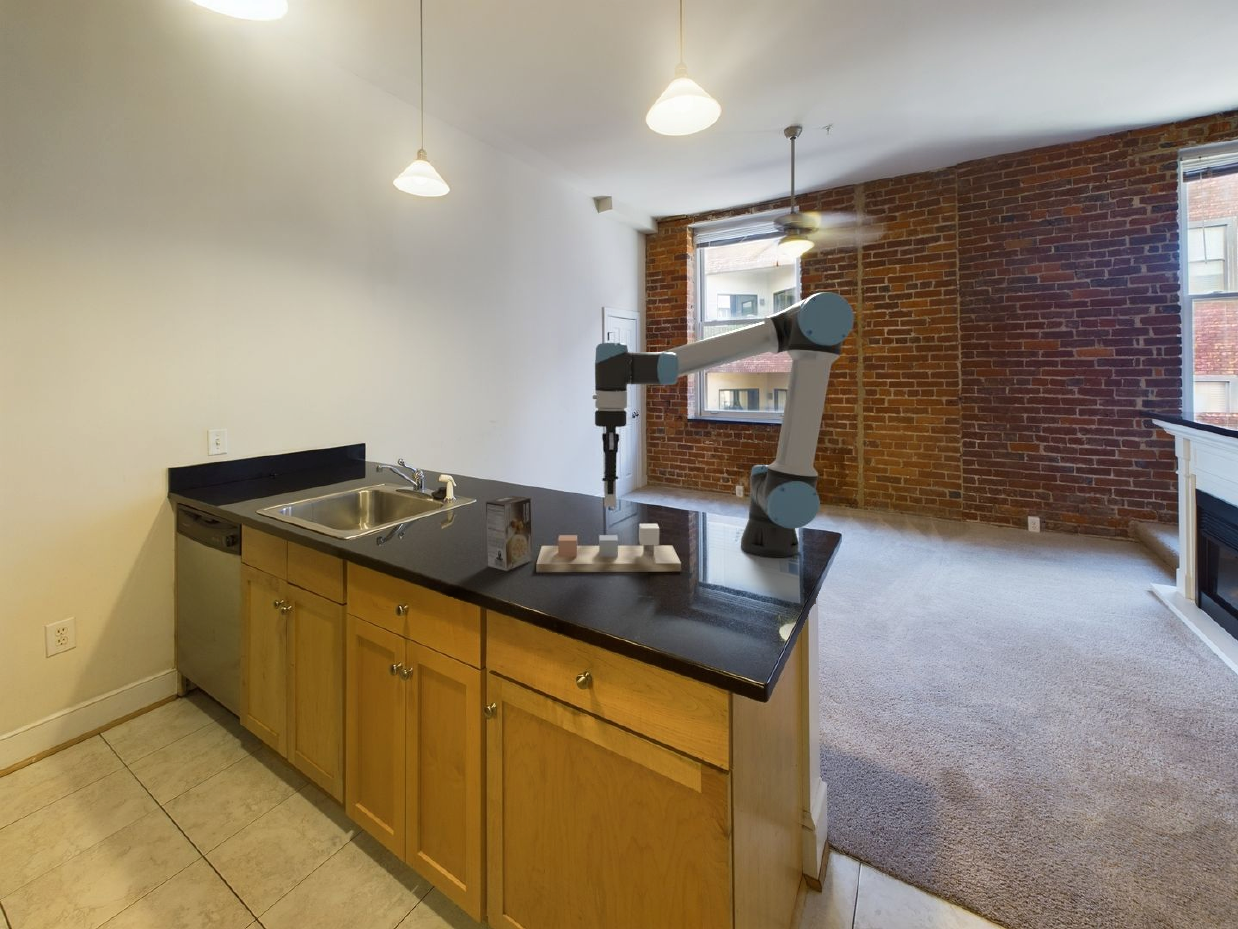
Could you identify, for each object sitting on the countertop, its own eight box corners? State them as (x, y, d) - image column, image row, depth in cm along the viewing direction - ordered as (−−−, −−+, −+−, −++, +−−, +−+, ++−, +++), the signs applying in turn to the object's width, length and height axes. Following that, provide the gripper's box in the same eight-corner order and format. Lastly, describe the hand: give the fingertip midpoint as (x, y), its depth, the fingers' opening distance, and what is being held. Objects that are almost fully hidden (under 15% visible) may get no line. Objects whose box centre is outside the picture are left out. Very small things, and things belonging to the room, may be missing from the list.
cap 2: (656, 539, 135) (657, 523, 134) (658, 545, 130) (659, 528, 130) (638, 539, 134) (639, 523, 134) (640, 545, 130) (640, 528, 129)
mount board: (672, 552, 140) (672, 534, 140) (680, 571, 126) (681, 551, 126) (542, 553, 138) (541, 534, 138) (536, 572, 125) (536, 551, 124)
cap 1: (577, 551, 134) (577, 535, 133) (576, 557, 130) (576, 540, 129) (559, 551, 134) (559, 535, 133) (558, 557, 129) (558, 540, 129)
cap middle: (617, 551, 135) (617, 535, 134) (617, 557, 130) (618, 540, 129) (599, 551, 134) (599, 535, 134) (599, 557, 130) (599, 540, 129)
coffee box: (513, 556, 136) (512, 494, 133) (532, 561, 132) (531, 497, 130) (486, 566, 128) (485, 501, 126) (506, 571, 125) (505, 504, 122)
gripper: (594, 408, 133) (594, 500, 137) (595, 410, 120) (594, 512, 124) (624, 408, 133) (623, 500, 137) (628, 411, 121) (627, 512, 124)
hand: (610, 506), depth 130 cm, fingers closed
